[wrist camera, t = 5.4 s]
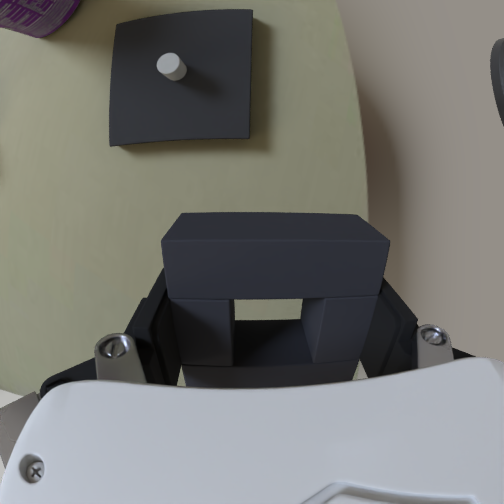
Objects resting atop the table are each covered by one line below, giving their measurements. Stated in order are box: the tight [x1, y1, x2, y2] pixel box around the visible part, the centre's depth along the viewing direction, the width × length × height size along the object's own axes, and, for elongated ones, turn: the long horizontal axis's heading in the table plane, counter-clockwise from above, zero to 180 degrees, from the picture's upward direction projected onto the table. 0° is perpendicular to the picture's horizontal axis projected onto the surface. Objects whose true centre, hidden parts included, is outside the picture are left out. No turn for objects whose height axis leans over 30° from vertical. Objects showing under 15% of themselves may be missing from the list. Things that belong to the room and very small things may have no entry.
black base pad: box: [109, 9, 253, 147], centre depth 16 cm, size 11×11×4 cm
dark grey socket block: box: [161, 212, 390, 388], centre depth 11 cm, size 7×7×3 cm
